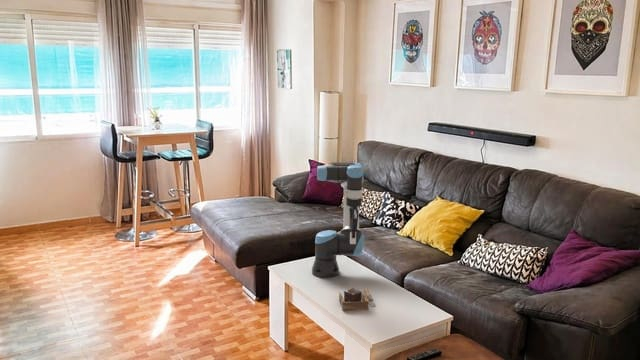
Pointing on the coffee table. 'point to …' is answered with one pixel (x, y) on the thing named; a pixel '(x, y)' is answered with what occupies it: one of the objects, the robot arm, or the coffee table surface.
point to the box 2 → (354, 303)
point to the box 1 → (352, 295)
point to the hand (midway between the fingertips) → (352, 243)
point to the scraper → (369, 298)
